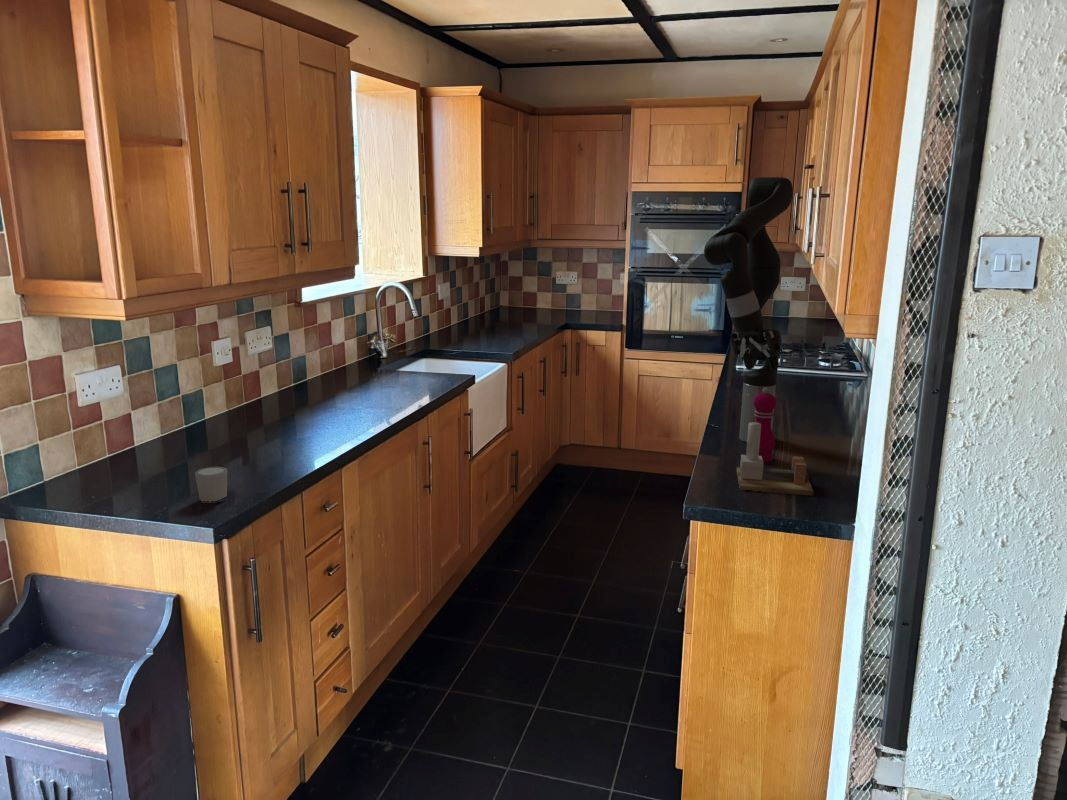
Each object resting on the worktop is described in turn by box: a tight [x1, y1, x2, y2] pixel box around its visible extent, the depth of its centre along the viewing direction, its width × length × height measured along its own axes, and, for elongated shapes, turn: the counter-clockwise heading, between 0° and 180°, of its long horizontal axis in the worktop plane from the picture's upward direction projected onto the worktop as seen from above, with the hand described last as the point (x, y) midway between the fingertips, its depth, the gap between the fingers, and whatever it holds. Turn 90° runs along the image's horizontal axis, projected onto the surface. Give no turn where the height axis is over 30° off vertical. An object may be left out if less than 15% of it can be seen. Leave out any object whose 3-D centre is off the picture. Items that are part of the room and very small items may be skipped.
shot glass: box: [194, 466, 228, 502], centre depth 178 cm, size 7×7×7 cm
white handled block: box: [739, 422, 764, 480], centre depth 195 cm, size 6×5×13 cm
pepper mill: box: [753, 388, 777, 463], centre depth 213 cm, size 7×7×20 cm
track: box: [736, 455, 814, 496], centre depth 195 cm, size 15×17×6 cm
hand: (762, 368), depth 203 cm, fingers open, 8 cm apart
